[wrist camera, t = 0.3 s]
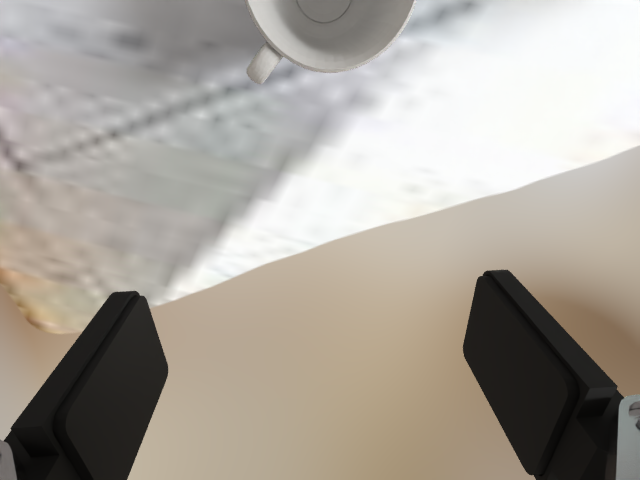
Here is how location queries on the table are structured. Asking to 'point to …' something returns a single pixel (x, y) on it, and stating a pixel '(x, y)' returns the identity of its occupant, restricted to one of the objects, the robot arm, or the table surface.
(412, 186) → the table surface
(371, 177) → the table surface
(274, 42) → the teacup
